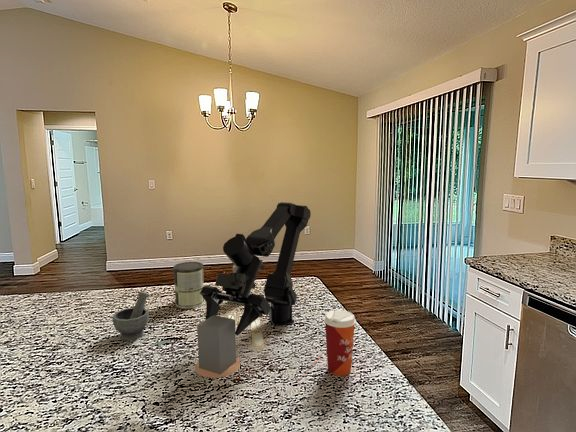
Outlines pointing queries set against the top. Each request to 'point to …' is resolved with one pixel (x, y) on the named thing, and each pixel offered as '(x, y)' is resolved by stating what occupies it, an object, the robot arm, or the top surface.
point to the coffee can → (188, 284)
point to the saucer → (215, 375)
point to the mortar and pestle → (132, 319)
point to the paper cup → (339, 341)
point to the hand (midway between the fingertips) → (220, 331)
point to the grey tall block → (216, 344)
